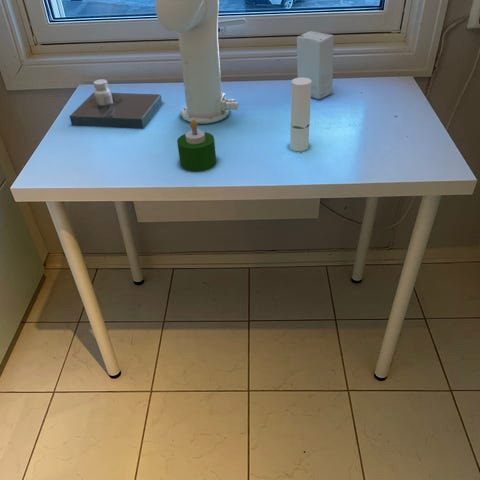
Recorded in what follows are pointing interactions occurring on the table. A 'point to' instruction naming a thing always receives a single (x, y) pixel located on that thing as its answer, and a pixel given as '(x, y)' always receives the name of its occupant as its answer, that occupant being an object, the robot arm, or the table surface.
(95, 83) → the pill bottle
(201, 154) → the candle
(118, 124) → the plate
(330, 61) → the cosmetic box
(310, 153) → the table surface
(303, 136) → the tube
